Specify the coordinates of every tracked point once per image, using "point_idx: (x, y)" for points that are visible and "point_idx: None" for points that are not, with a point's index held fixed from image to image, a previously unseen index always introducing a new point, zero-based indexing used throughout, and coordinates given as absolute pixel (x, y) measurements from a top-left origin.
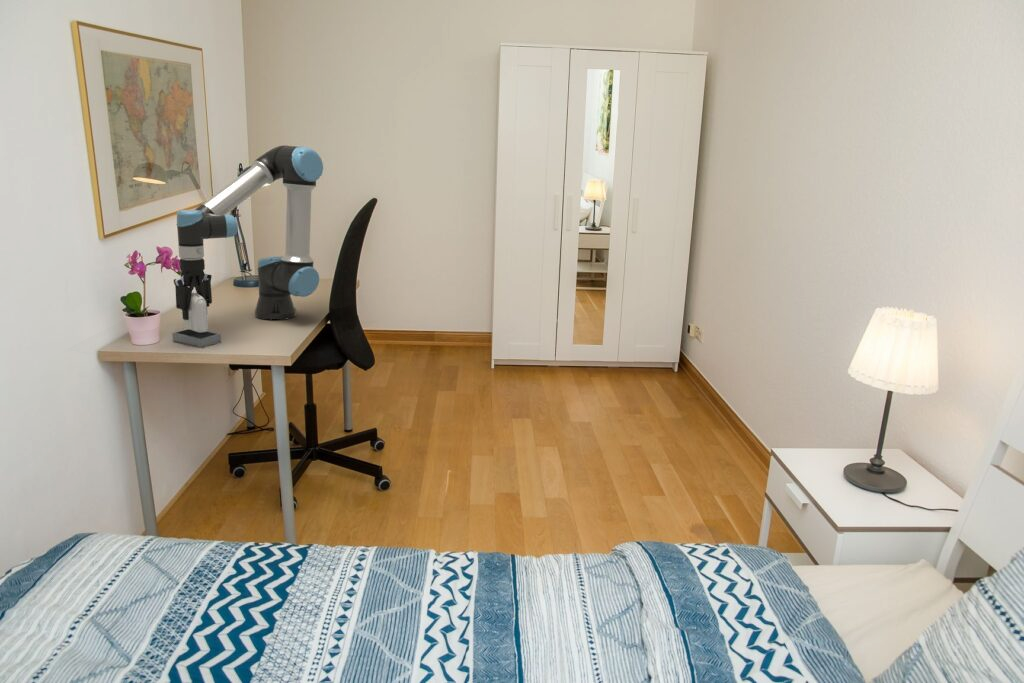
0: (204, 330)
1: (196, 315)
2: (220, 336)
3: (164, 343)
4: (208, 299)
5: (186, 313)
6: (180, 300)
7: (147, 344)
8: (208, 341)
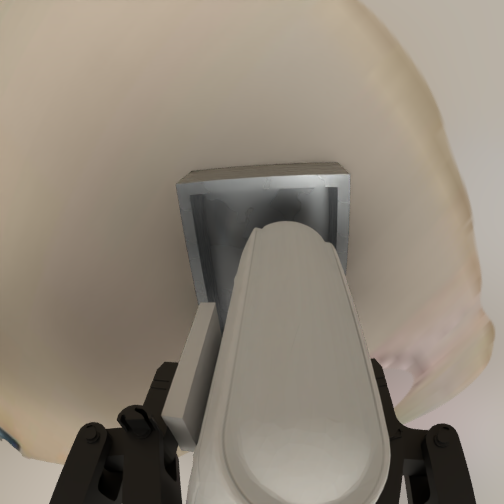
0: (291, 223)
1: (361, 331)
2: (183, 179)
3: (367, 342)
4: (100, 464)
5: (381, 401)
6: (470, 500)
7: (402, 364)
8: (285, 170)
